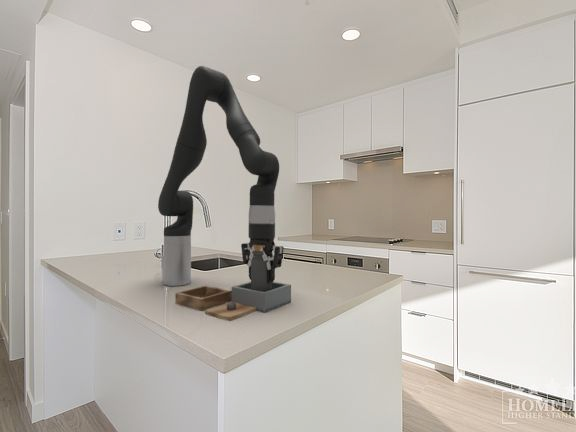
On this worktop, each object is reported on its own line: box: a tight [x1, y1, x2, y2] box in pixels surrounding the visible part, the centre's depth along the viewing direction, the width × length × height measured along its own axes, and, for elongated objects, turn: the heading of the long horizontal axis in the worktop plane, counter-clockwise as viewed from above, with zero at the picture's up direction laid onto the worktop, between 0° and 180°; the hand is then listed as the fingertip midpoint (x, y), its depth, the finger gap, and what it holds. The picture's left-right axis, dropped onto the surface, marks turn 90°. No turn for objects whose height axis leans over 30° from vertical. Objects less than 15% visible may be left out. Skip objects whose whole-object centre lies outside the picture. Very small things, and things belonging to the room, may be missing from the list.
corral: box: [174, 285, 231, 312], centre depth 91 cm, size 11×11×3 cm
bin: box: [230, 281, 292, 314], centre depth 90 cm, size 12×12×5 cm
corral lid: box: [204, 301, 257, 322], centre depth 82 cm, size 9×10×2 cm
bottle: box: [250, 244, 272, 292], centre depth 90 cm, size 6×6×15 cm
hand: (261, 280), depth 90 cm, fingers closed on bottle, 5 cm apart
